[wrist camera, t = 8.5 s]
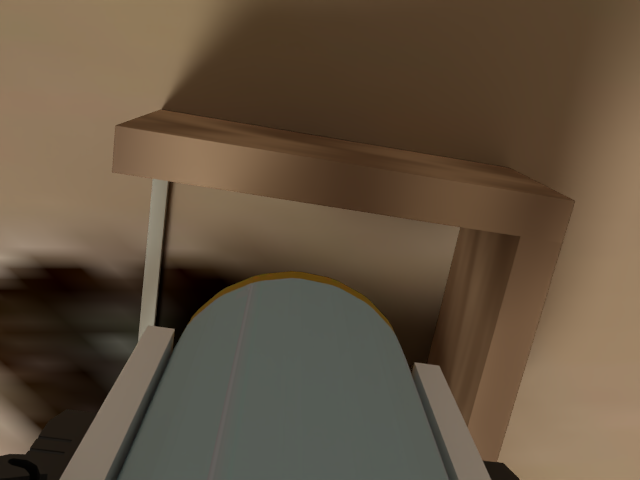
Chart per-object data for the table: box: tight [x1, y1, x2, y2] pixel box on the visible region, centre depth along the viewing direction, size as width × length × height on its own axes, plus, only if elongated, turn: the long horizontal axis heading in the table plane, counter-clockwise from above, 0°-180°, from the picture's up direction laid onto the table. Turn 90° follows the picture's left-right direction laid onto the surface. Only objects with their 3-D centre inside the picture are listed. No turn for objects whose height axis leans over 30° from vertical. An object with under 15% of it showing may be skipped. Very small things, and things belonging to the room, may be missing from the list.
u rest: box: [112, 110, 575, 462], centre depth 23 cm, size 14×13×6 cm
